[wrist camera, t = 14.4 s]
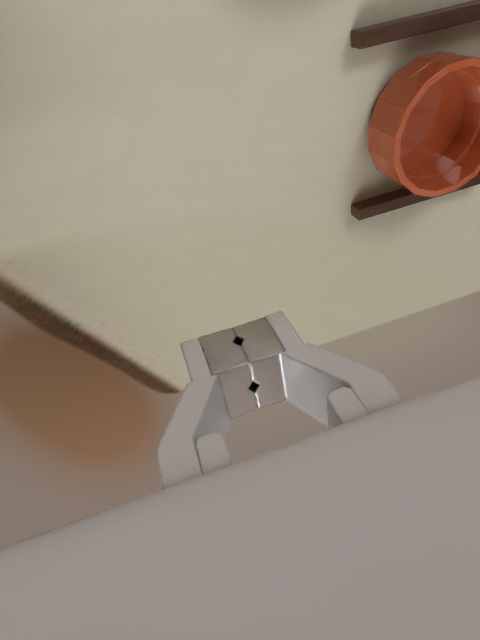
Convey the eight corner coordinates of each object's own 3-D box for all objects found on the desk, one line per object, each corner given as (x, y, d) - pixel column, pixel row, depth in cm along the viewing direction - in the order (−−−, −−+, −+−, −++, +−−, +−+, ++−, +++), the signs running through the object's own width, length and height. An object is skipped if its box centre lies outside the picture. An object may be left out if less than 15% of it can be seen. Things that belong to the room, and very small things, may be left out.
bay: (350, 30, 36) (360, 31, 35) (512, -9, 38) (527, -9, 37) (351, 214, 46) (358, 220, 45) (478, 176, 48) (489, 181, 47)
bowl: (365, 68, 38) (398, 77, 34) (480, 38, 40) (523, 44, 36) (364, 191, 45) (391, 210, 41) (461, 162, 47) (496, 178, 43)
